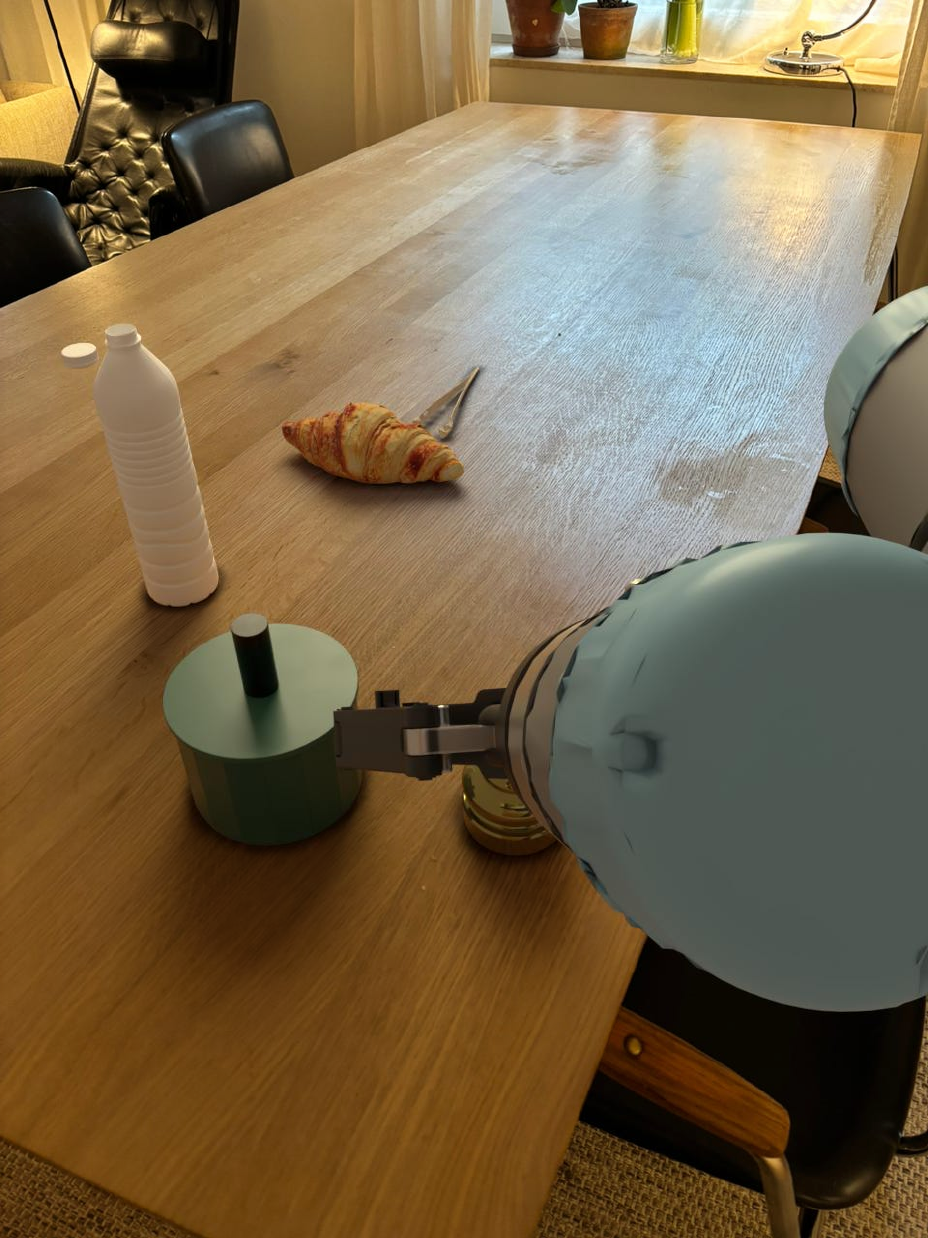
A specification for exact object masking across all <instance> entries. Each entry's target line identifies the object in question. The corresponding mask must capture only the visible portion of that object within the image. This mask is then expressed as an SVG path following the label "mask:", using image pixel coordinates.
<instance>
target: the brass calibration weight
mask: <svg viewBox="0 0 928 1238" xmlns="http://www.w3.org/2000/svg"><path fill="white" fill-rule="evenodd" d="M461 772H462V773H461V786H462V793H461V802H462V807H463V808H462V809H463V811H462V812H463V813H462V814H463V815H462V816H463V820H464V825H465V828H466V830H467V831H468V833H469V834H470V835H471V837H472V838H473V839H474V840H475V842H477V843H478V844H479V845H481V846H483V847H484V848H486V849H488V850H489V851H491V852H495V853H498V854H501V855H507V856H526V855H527V856H528V855H532V854H536V853H538V852H541V851H543V850H545V849H547V848H548V847H550V846H551V845H552V844H553V843H554V842H556V841H557V839H556V838H555V837H554V836H553V835H552V834H551V833H550V832H549V831H548V830H547V829H546V828H544V827H543V826H542V825H541V824H540V823H539V822H538V820H537V819H536V817H535V816H534V815H533V814H532V813H531V812H530V811H529V810H528V809H527V808H526V807H525V805H524V804H523V803H522V802H521V800H520V799H519V798H518V796H517V795H516V793H515V791H514V790H513V788H512V786H511V784H510V782H509V780H508V779H489V778H486V777H484V776H483V775H482V773H481V771H480V769H479V767H478V766H476V765H463V769H462V771H461Z"/></svg>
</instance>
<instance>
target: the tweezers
mask: <svg viewBox="0 0 928 1238" xmlns="http://www.w3.org/2000/svg"><path fill="white" fill-rule="evenodd" d="M479 370H480V367H479V366H476V368H475V369H474V370H473V371H472V372H470V373H469V375H467V376H466V377H465V378H464V379H463V380H461V381H460V382H459V383H458V384H456V385H455V386H454V387H452V388H451V389H449V390H448V391H447V392H445V393H444V394H442V395H441V396H440V397H438V398H436V399H435V400H434V401H432V402H431V403H430V404H429V405H428V406H427V407H426V408H425V409H424V410H422V412H420V414H419V415H417V416H416V417H415V418H414V419H413V420H412V424H422V425H423V424H424V423H425V422H426V421H427V420H429V418H431V417H433V416H434V415H435V414H436V413H437V412H438V410H439V409H441V408H442V407H443V406H445V405H446V404H447V403H449V402H450V401H451V400H453V399H454V398H455V397H456V396H458V395H459V394H460V395H459V397H458V400H457V402H456V404H455V406H454V407H453V409H452V412H451V413H450V414H451V415H450V417H449V421H448V423H446V424H444V426H443V427H439V428H437V431H438V433H439V434H438V435H439V438H441V439H444V438H446V437H447V436H448V435H449V433H450V432H451V431H452V429H453V427H454V420H455V416H456V413H457V410H458V409H459V407H460V404H461V402H462V400H463V397H464V396H465V393H466V392H467V390H468V387H470V384H471V383H472V381H473V379H474V378H475V376H476V374H477V373H478V372H479ZM425 413H426V414H425Z"/></svg>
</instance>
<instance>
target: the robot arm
mask: <svg viewBox="0 0 928 1238" xmlns="http://www.w3.org/2000/svg"><path fill="white" fill-rule="evenodd" d="M823 422H824V429H825V433H826V438H827V443H828V445H829V448H830V450H831V453H832V455H833V458H834V461H835V464H836V465H837V468H838V471H839V473H840V476H841V483H840V486H841V489H842V493H843V495H844V499H845V500H846V502H847V504H848V506H849V509H850V510H851V511H852V513H853V514H855V516H857V517H858V518H859V519H860V520H861V522H863V524H864V527H865V528H866V530H867V532H868V534H869V535H870V536H868V535H863V534H853V533H843V532H812V533H811V532H810V533H809V532H808V533H801V534H793V535H784V536H779V537H775V538H771V539H767V540H755V541H753V540H751V541H738V542H732V543H724V544H720V545H717V546H716V547H715V548H713V549H712V550H710V551H709V552H708V553H706V554H705V555H703V556H702V557H700V558H698V559H697V558H692V557H685V558H683V559H680V560H678V561H677V562H676V561H675V562H674V563H673V564H671V565H670V566H668V567H667V568H665V569H662V570H659V571H655V572H652V573H650V574H649V575H647V576H646V577H644V578H635V579H633V580H632V581H631V582H629V583H628V584H627V585H626V586H624V592H623V593H622V594H621V595H620V596H618V598H617V599H616V600H615V601H614V602H613V603H611V605H610V606H606V607H604V608H603V609H601V610H600V611H599V612H597V613H595V614H593V615H592V616H590V617H589V616H588V617H587V618H584V619H581V620H578V621H576V622H574V623H572V624H570V625H568V626H566V627H564V628H562V629H560V630H559V631H556V632H554V633H553V634H551V635H549V636H548V637H546V638H545V639H544V640H542V641H541V642H540V643H539V644H537V645H536V646H535V647H534V648H533V649H532V650H531V651H530V652H528V653H527V655H526V656H525V657H524V658H523V660H522V661H520V663H519V665H518V666H517V667H516V669H515V671H514V673H512V676H511V678H510V679H509V681H508V683H507V685H506V687H497V688H483V689H481V690H479V691H478V692H477V694H476V696H475V698H474V701H473V702H464V703H463V702H462V703H461V702H460V703H444V704H443V703H442V704H441V703H440V704H429V702H428V701H427V702H425V701H424V702H420V701H413V702H401V699H400V698H401V697H400V689H386V690H384V689H383V690H374V701H375V708H363V709H360V708H359V709H358V710H355V708H353V706H352V707H341V709H336V710H337V711H333V718H334V739H335V760H336V767H337V768H339V769H344V770H356V769H358V770H363V771H370V772H383V773H393V774H402V775H403V774H404V775H405V776H406V777H408V778H415V779H417V780H418V781H419V782H424V781H425V782H426V781H433V779H436V778H437V777H439V776H442V775H443V774H446V773H452V772H453V766H465V765H476V766H478V767H479V769H480V771H481V773H482V775H483V776H484V777H486V778H489V779H508V780H509V782H510V784H511V786H512V788H513V790H514V791H515V793H516V795H517V796H518V798H519V799H520V800H521V802H522V803H523V804H524V805H525V807H526V808H527V809H528V810H529V811H530V812H531V813H532V814H533V815H534V816H535V817H536V819H537V820H538V822H539V823H540V824H541V825H542V826H543V827H544V828H546V829H547V830H548V831H549V832H550V833H551V834H552V835H553V836H554V837H555V838H556V841H558V842H559V843H560V844H562V845H563V846H564V847H565V848H566V849H567V850H568V851H569V852H571V854H572V855H573V856H574V857H575V859H576V861H577V865H578V867H579V870H581V871H582V872H583V873H584V874H585V876H586V878H587V879H588V880H589V882H590V884H591V885H592V886H593V888H594V890H595V891H596V892H597V893H598V895H600V897H601V898H602V899H603V900H604V901H605V903H606V904H607V906H609V907H610V908H611V910H612V911H615V912H617V913H619V914H622V915H624V918H625V921H626V922H627V923H628V925H629V926H630V928H636V929H640V930H641V931H642V932H643V933H644V934H645V935H646V936H648V937H649V939H651V940H653V942H655V943H656V944H657V945H658V946H659V947H660V948H661V949H668V950H674V951H676V952H679V953H680V954H682V955H683V956H684V957H685V958H686V959H687V960H688V961H689V962H690V963H691V964H692V965H693V966H694V967H695V968H697V969H699V970H701V971H704V972H707V973H709V974H712V975H713V976H715V977H716V978H718V979H720V980H722V981H724V982H725V983H727V984H729V985H732V986H733V987H735V988H737V989H739V990H742V991H745V992H747V993H749V994H752V995H754V996H758V997H760V998H763V999H766V1000H769V1001H772V1002H776V1003H779V1004H782V1005H786V1006H791V1007H796V1008H801V1009H805V1010H814V1011H822V1012H839V1013H840V1012H841V1013H842V1012H843V1013H844V1012H866V1011H867V1012H868V1011H878V1010H885V1009H892V1008H898V1007H900V1006H901V1005H903V1004H906V1003H909V1002H913V1001H915V1000H917V999H920V998H923V997H925V996H928V285H925V286H922V287H920V288H918V289H917V288H916V289H915V290H912V291H909V292H907V293H905V294H903V295H902V296H899V297H898V298H896V299H894V300H893V301H891V302H889V303H887V304H886V305H884V306H883V307H882V308H880V309H879V310H877V312H875V313H874V314H873V315H871V316H870V317H869V318H868V319H867V320H866V321H865V322H864V323H863V324H862V325H861V326H860V327H859V328H858V329H857V330H856V331H855V332H854V333H853V335H852V336H851V337H850V339H848V341H847V343H846V344H845V345H844V347H843V348H842V350H841V352H839V354H838V356H837V357H836V359H835V362H834V364H833V366H832V368H831V370H830V373H829V376H828V379H827V382H826V387H825V391H824V399H823ZM339 710H342V711H339Z"/></svg>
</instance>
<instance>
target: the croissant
mask: <svg viewBox="0 0 928 1238" xmlns="http://www.w3.org/2000/svg"><path fill="white" fill-rule="evenodd" d="M281 430H282V435H283V438H284V439H285V441H286V442H287V443H288V444H290V446H292V447H294V449H297V450H298V452H299V453H300V454H301V456H302V457H303V459H305V460H307V462H308V463H310V464H313V465H314V466H315V467H319V468H321V469H322V470H323V471H324V472H326V473H328V474H330V475H332V476H335V477H340V478H343V479H349V480H352V481H356V482H359V483H363V484H373V485H374V484H376V485H377V484H381V485H383V484H393V483H397V482H399V483H402V484H414V483H416V482H426V481H428V480H431V481H434V482H437V483H441V482H450V481H453V480H455V481H456V479H458V478H460V477H462V476H463V474H465V472H464V471H465V469H464V468H465V465H464V464H463V463H462V462H461V461H460V459H459V458H458V457H457V454H456V453H455V452H454V451H453V450H452V449H451V448H450V447H449V446H448V445H447V444H444V443H438V440H437V439H435V437H434V436H433V434H432V433H431V432H430V431H429V430H428V429H425V428H424V426H423V424H413V423H405V424H404V422H403V421H402V420H400V419H398V417H397V416H396V415H395V413H394V412H392V411H391V410H390V409H388V408H387V407H386V406H384V405H381V404H374V403H370V402H369V403H368V402H349V403H348V404H347V405H346V407H345V408H344V409H343V411H342V412H339V411H335V410H333V411H327V413H325V414H323V415H322V417H321V418H319V419H318V418H316V417H315V416H314V417H305V418H302V419H299V420H298V421H297V422H294V421H286V422H284V423H283V425H282V426H281Z"/></svg>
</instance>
